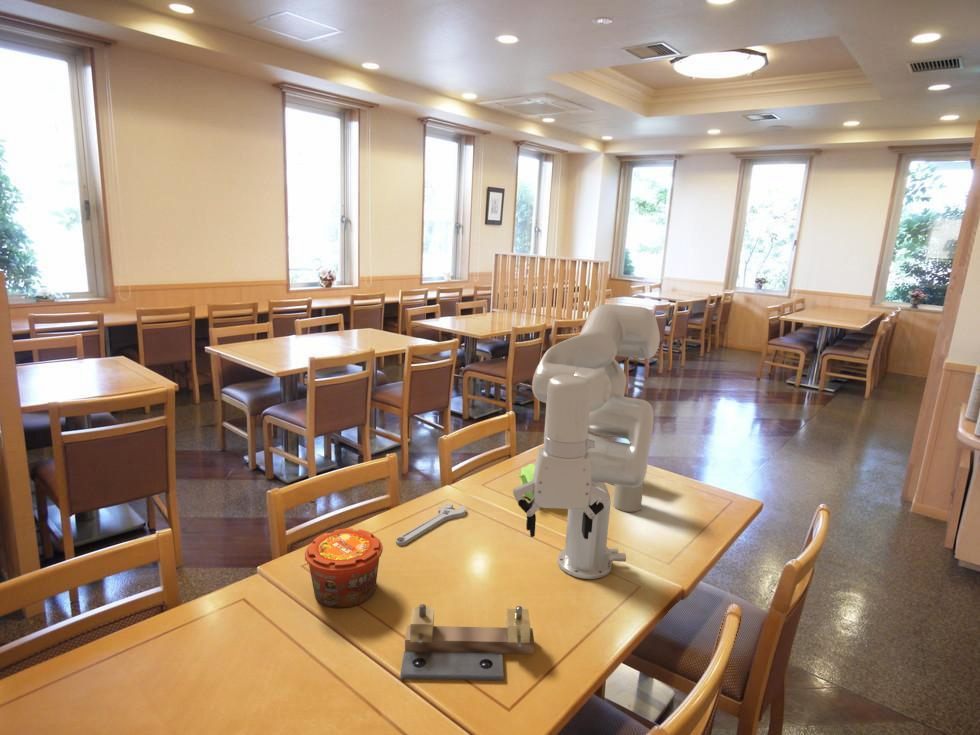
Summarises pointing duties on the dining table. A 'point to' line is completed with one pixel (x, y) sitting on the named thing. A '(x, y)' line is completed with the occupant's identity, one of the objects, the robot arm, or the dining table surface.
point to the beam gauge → (458, 637)
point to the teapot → (527, 477)
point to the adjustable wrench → (431, 523)
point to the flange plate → (452, 666)
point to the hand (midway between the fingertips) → (558, 534)
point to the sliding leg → (518, 625)
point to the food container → (344, 566)
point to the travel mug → (628, 498)
